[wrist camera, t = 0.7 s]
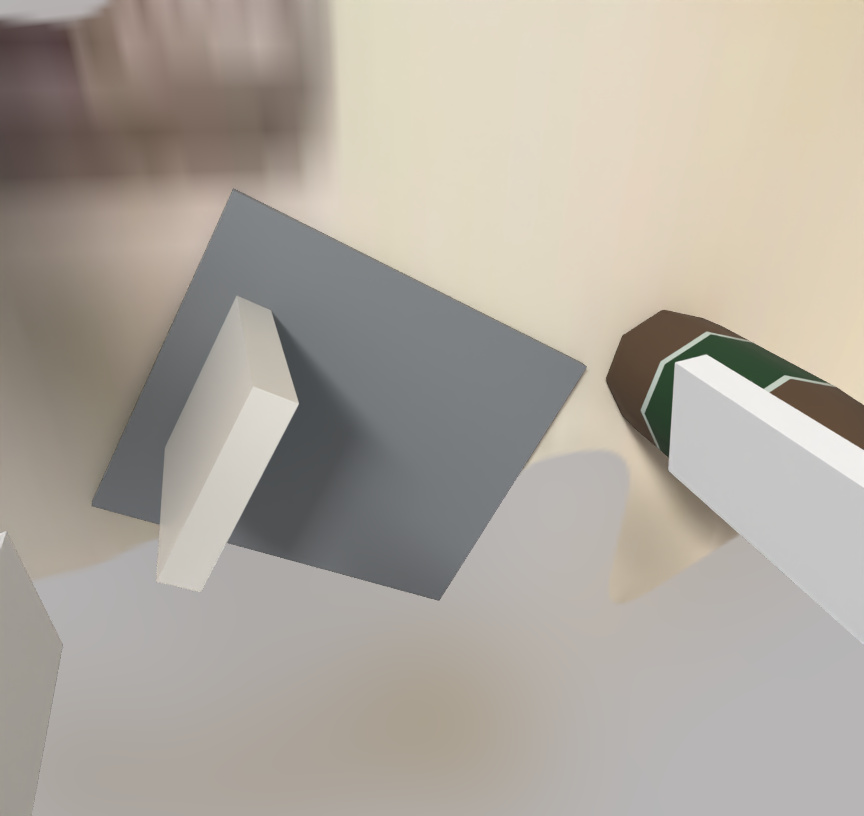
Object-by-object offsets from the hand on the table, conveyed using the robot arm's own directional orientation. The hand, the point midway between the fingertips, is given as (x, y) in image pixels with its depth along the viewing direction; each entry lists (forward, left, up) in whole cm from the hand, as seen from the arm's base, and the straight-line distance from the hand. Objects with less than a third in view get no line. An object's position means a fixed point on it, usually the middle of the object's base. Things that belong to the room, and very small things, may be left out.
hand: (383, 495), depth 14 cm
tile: (+1, -8, -24) cm, 25 cm away
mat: (+9, -8, -24) cm, 27 cm away
